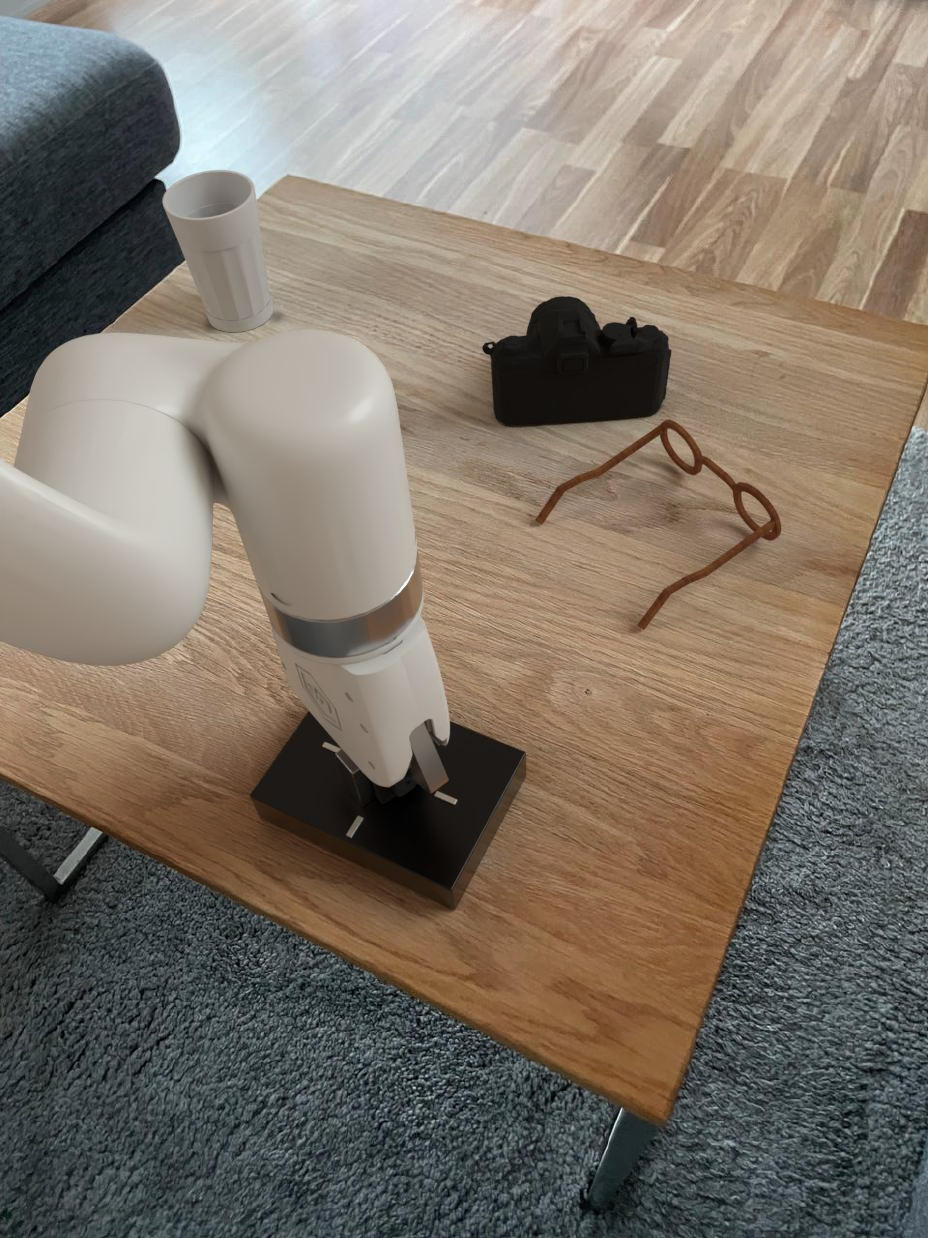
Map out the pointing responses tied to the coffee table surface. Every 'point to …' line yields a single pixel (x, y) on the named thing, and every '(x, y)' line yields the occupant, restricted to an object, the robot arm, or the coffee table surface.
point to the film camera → (577, 368)
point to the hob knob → (355, 779)
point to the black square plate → (397, 809)
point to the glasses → (698, 462)
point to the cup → (222, 246)
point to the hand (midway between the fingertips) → (387, 772)
